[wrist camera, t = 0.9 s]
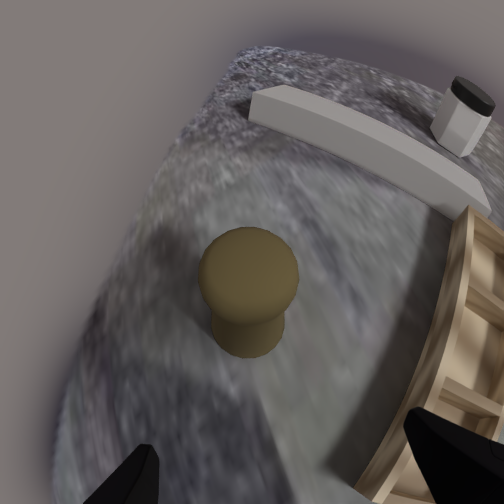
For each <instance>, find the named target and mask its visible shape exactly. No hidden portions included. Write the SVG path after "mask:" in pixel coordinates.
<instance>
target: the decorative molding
mask: <svg viewBox="0 0 504 504" xmlns="http://www.w3.org/2000/svg"><path fill="white" fill-rule="evenodd" d="M248 121H250V122H252V123H255V124H258V125H261V126H264V127H267V128H269V129H272V130H275V131H277V132H280V133H282V134H285V135H287V136H290V137H292V138H295V139H297V140H300V141H303V142H305V143H307V144H310V145H312V146H314V147H317V148H319V149H321V150H324V151H326V152H328V153H330V154H333V155H335V156H337V157H339V158H341V159H343V160H345V161H348V162H350V163H352V164H354V165H356V166H358V167H360V168H362V169H364V170H366V171H368V172H370V173H372V174H374V175H375V176H377V177H379V178H381V179H383V180H385V181H387V182H389V183H391V184H392V185H394V186H396V187H398V188H400V189H401V190H403V191H405V192H407V193H408V194H410V195H412V196H414V197H415V198H417V199H419V200H420V201H422V202H424V203H425V204H427V205H429V206H430V207H432V208H433V209H435V210H436V211H438V212H440V213H441V214H443V215H444V216H446V217H447V218H449V219H450V220H452V221H453V222H454V221H455V220H456V219H457V218H458V216H459V215H460V214H461V213H462V212H463V210H464V209H465V208H466V207H467V206H468V204H469V205H470V206H471V207H473V208H474V209H476V210H477V211H478V212H480V213H481V214H482V215H483V216H485V217H486V218H488V216H489V215H490V213H491V212H492V210H491V208H490V205H489V203H488V200H487V198H486V195H485V193H484V191H483V188H482V186H481V184H480V182H479V180H477V179H476V178H475V177H473V176H472V175H470V174H469V173H468V172H466V171H465V170H463V169H462V168H460V167H459V166H457V165H456V164H454V163H453V162H451V161H450V160H448V159H446V158H445V157H443V156H442V155H440V154H438V153H437V152H435V151H434V150H432V149H430V148H428V147H427V146H425V145H423V144H422V143H420V142H418V141H416V140H414V139H413V138H411V137H409V136H407V135H405V134H403V133H401V132H399V131H398V130H396V129H394V128H392V127H390V126H388V125H386V124H384V123H381V122H379V121H377V120H375V119H373V118H371V117H369V116H366V115H364V114H362V113H360V112H357V111H355V110H353V109H350V108H348V107H345V106H343V105H341V104H338V103H336V102H333V101H330V100H328V99H325V98H322V97H320V96H317V95H314V94H311V93H308V92H305V91H302V90H299V89H296V88H293V87H290V86H287V85H281V86H276V87H272V88H268V89H264V90H260V91H256V92H253V95H252V101H251V106H250V112H249V118H248Z"/></svg>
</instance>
